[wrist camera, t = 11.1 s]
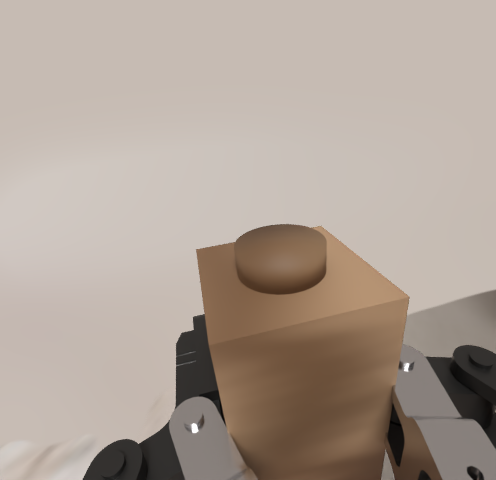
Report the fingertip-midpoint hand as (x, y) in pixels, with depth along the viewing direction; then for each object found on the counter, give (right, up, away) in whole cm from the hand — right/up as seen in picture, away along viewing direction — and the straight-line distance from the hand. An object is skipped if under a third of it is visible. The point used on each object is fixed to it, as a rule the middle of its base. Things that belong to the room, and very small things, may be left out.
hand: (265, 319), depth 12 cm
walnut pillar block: (+1, -6, 0) cm, 7 cm away
